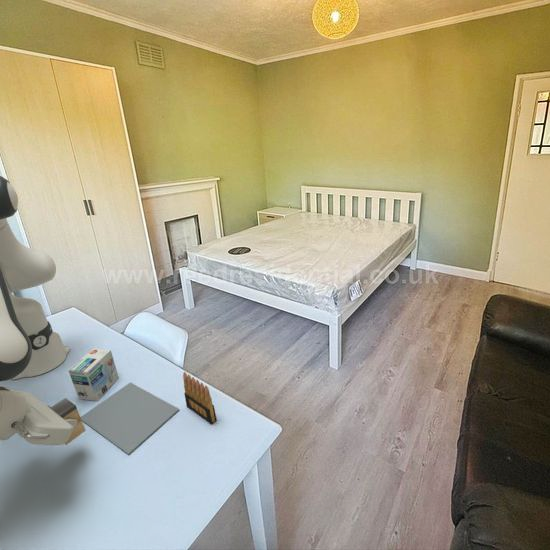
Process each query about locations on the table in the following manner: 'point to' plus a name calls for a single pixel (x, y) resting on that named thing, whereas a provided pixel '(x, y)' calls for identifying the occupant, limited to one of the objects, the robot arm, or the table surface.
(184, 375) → the ammunition clip
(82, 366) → the light bulb box
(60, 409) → the oak block
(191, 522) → the table surface
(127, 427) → the slate mat
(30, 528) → the table surface
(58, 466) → the table surface
